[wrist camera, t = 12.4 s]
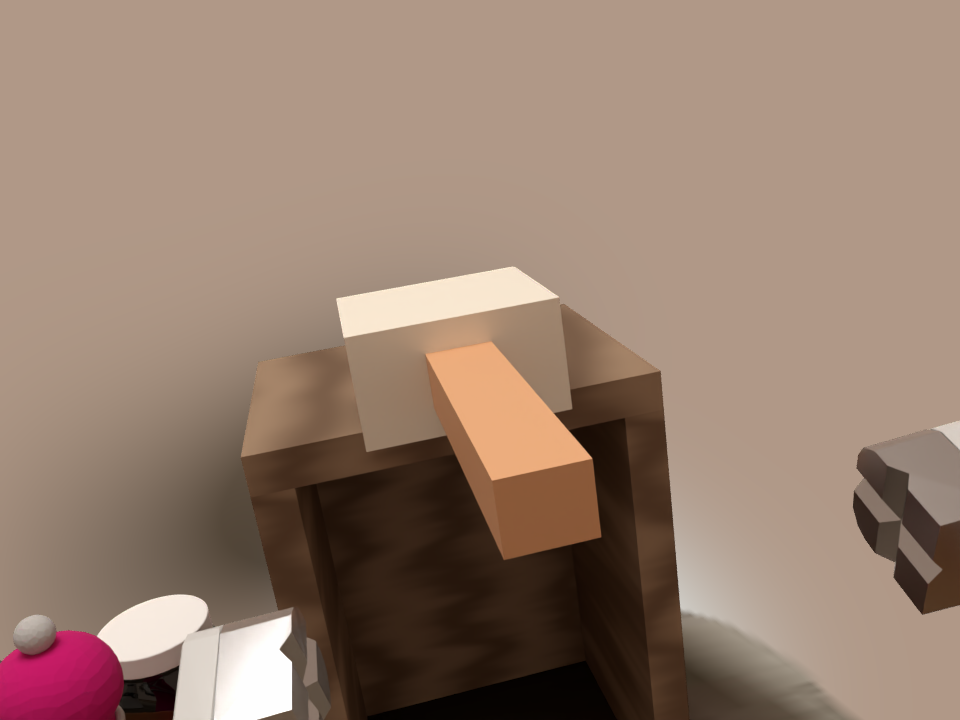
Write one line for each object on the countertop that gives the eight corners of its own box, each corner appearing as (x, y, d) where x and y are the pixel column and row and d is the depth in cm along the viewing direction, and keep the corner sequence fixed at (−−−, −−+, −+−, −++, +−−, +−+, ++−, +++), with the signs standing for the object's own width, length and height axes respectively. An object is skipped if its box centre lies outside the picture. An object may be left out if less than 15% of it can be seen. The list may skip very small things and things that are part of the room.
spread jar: (95, 825, 53) (41, 669, 50) (177, 700, 64) (136, 565, 60) (276, 821, 51) (233, 660, 48) (329, 694, 62) (296, 554, 59)
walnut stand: (349, 898, 46) (239, 451, 38) (337, 705, 61) (257, 357, 53) (695, 798, 49) (659, 365, 41) (602, 637, 64) (563, 299, 56)
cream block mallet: (400, 627, 23) (367, 460, 22) (355, 394, 43) (336, 298, 41) (707, 553, 24) (696, 391, 23) (526, 360, 44) (513, 266, 43)
